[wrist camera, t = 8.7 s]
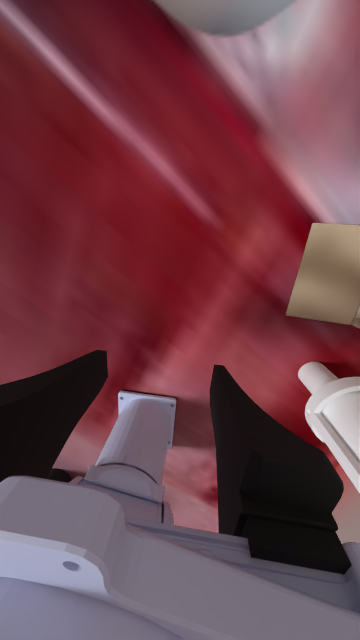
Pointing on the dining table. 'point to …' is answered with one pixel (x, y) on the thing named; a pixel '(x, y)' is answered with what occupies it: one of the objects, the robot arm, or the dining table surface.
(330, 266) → the dock
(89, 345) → the dining table surface
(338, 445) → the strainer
